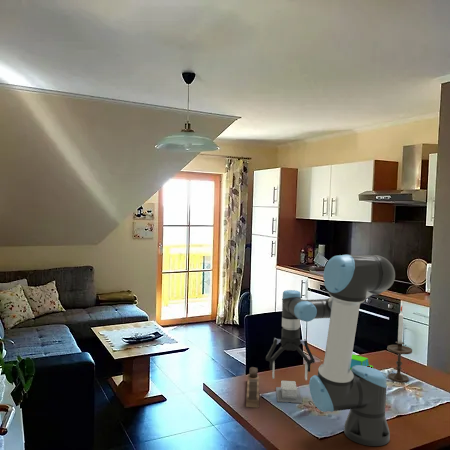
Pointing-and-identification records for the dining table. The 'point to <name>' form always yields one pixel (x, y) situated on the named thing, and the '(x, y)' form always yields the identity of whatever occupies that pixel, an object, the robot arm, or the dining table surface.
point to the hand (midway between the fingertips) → (289, 378)
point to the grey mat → (279, 399)
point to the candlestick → (399, 353)
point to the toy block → (359, 361)
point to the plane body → (253, 388)
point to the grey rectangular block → (288, 390)
